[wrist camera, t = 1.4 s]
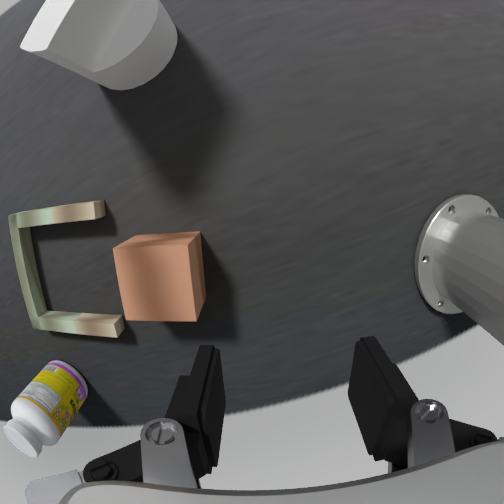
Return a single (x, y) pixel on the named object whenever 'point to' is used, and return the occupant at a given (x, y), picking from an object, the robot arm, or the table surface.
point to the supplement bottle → (46, 408)
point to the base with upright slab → (105, 39)
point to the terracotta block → (161, 276)
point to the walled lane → (30, 278)
